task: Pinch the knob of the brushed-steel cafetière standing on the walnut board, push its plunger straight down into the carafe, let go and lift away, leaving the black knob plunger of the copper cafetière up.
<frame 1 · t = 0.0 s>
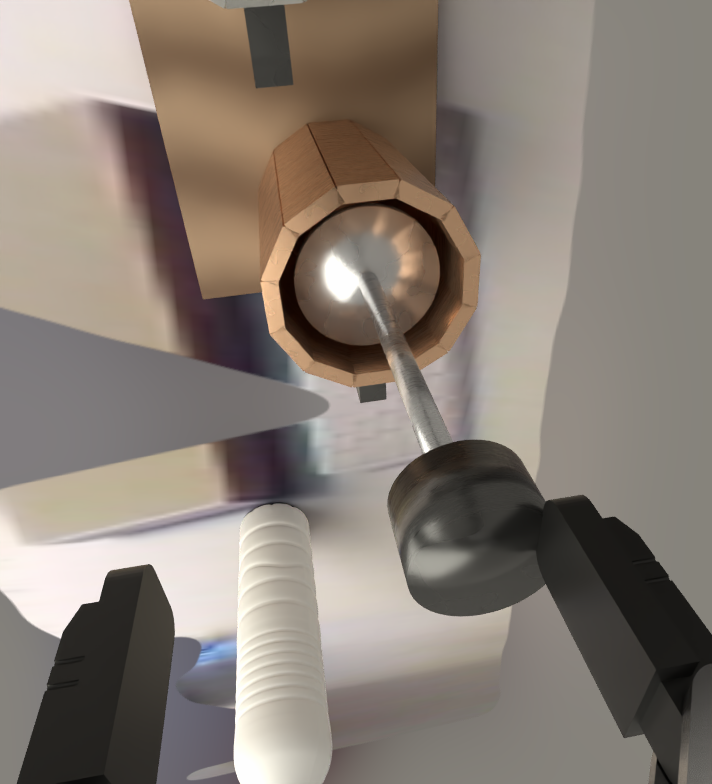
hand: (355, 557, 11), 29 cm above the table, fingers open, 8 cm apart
water bottle: (279, 531, 53), on the table
black knob plunger: (405, 370, 19), point 21 cm above the table, slide at 0.4 cm, touching gripper
board: (294, 65, 32), on the table
copper carafe: (334, 201, 35), resting on board
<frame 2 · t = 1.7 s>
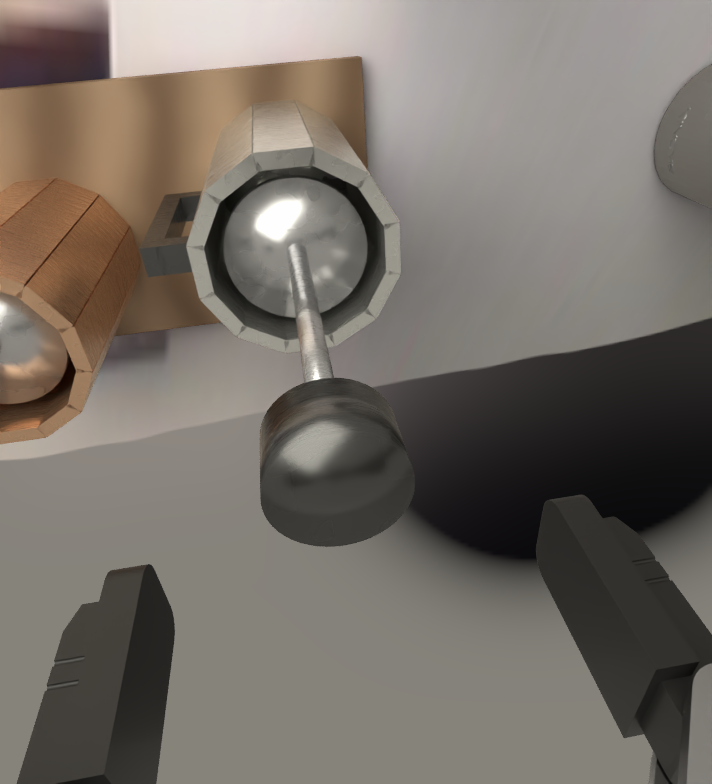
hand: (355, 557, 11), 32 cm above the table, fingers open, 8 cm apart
steel carafe: (284, 181, 36), resting on board
board: (175, 211, 37), on the table
steel plunger: (310, 329, 19), point 22 cm above the table, slide at 0.0 cm
copper carafe: (64, 252, 37), resting on board
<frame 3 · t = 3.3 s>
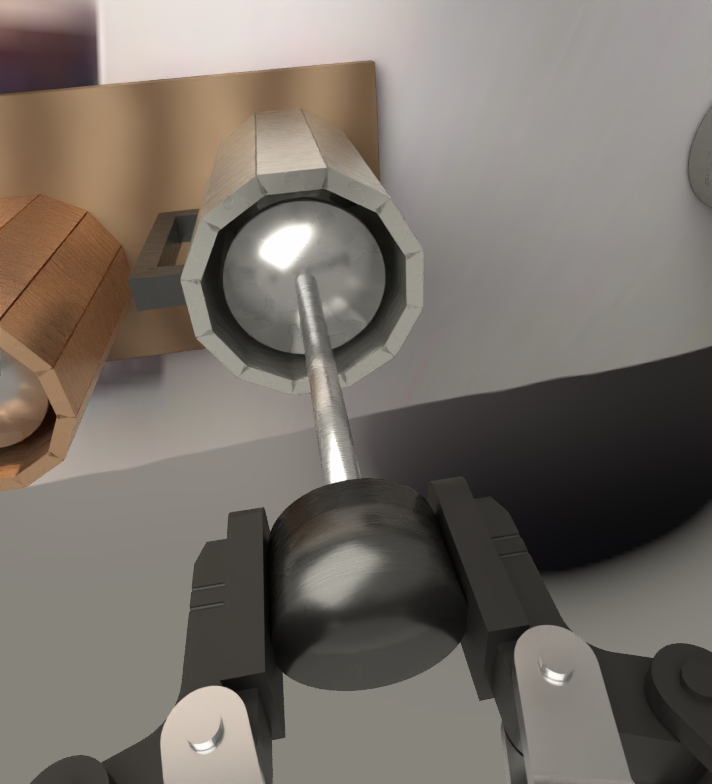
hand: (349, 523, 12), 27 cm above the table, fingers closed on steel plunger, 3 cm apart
steel carafe: (289, 196, 33), resting on board
board: (171, 228, 34), on the table
steel plunger: (325, 386, 16), point 22 cm above the table, slide at 0.0 cm, touching gripper
copper carafe: (50, 273, 34), resting on board
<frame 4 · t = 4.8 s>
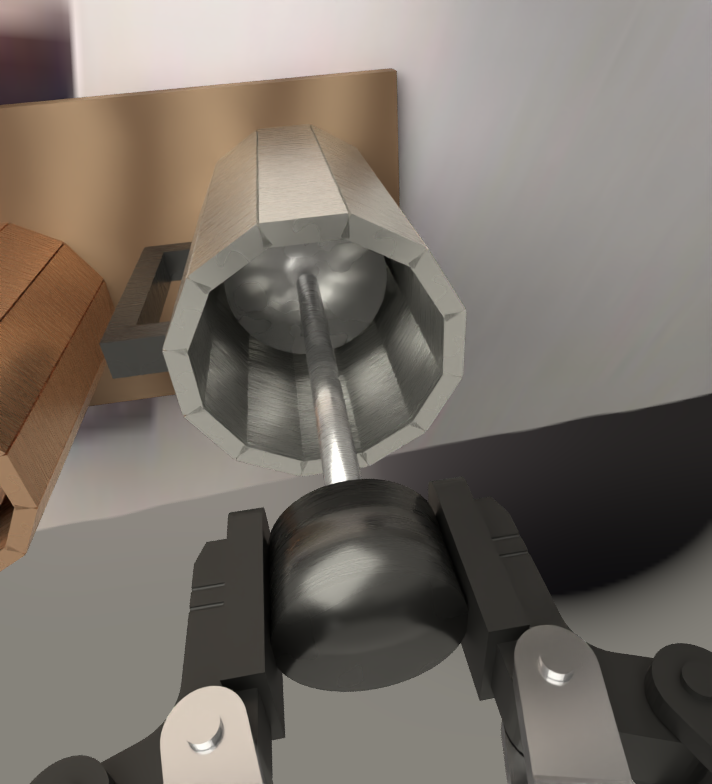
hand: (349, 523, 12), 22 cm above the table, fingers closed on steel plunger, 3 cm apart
steel carafe: (296, 223, 29), resting on board
board: (161, 259, 30), on the table
steel plunger: (325, 386, 16), point 16 cm above the table, slide at 5.3 cm, touching gripper
copper carafe: (22, 311, 29), resting on board
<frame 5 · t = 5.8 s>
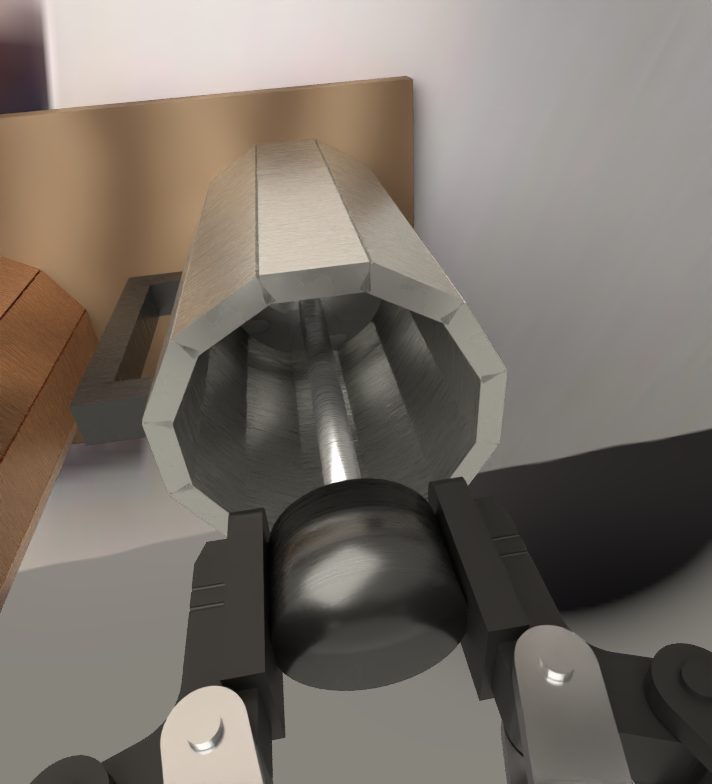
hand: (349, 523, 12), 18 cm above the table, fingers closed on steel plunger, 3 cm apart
steel carafe: (299, 247, 26), resting on board
board: (149, 286, 27), on the table
steel plunger: (325, 386, 16), point 13 cm above the table, slide at 8.8 cm, touching gripper
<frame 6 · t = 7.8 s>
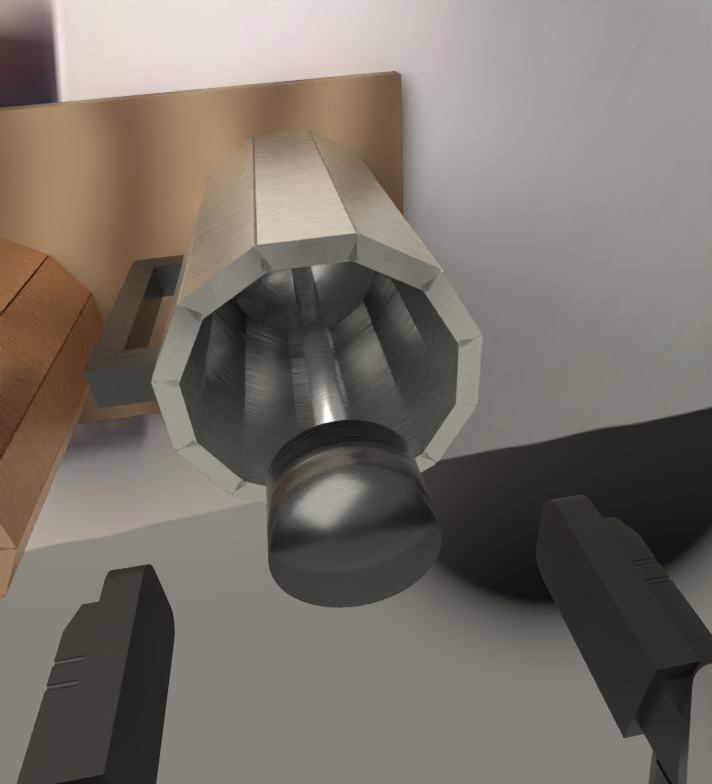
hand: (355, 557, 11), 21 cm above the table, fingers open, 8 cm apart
steel carafe: (294, 234, 27), resting on board
board: (152, 271, 29), on the table
steel plunger: (317, 353, 18), point 13 cm above the table, slide at 8.8 cm
copper carafe: (5, 327, 28), resting on board
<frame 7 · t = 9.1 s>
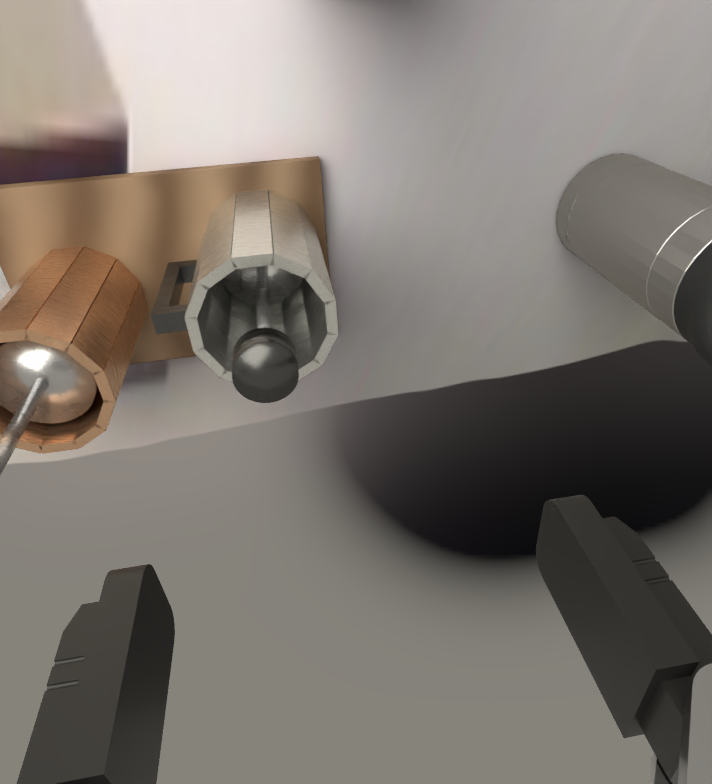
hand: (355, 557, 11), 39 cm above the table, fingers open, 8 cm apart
steel carafe: (261, 247, 46), resting on board
board: (175, 269, 47), on the table
steel plunger: (263, 309, 37), point 13 cm above the table, slide at 8.8 cm
copper carafe: (87, 301, 47), resting on board
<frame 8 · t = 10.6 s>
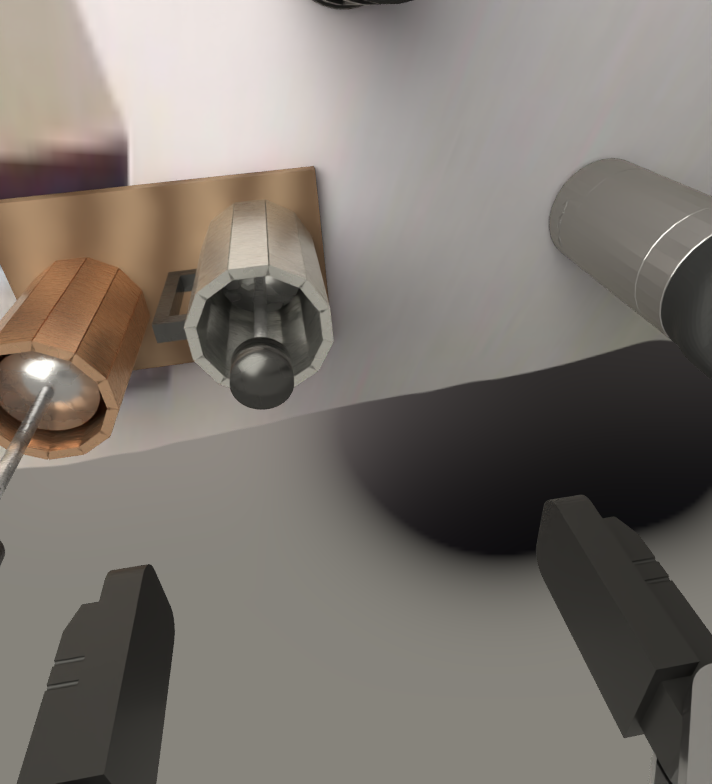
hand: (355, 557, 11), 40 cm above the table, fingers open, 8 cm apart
steel carafe: (259, 256, 47), resting on board
black knob plunger: (7, 466, 32), point 21 cm above the table, slide at 0.4 cm
board: (176, 277, 49), on the table
steel plunger: (260, 318, 38), point 13 cm above the table, slide at 8.8 cm
copper carafe: (91, 310, 48), resting on board
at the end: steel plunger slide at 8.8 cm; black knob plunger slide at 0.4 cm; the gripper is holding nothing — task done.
